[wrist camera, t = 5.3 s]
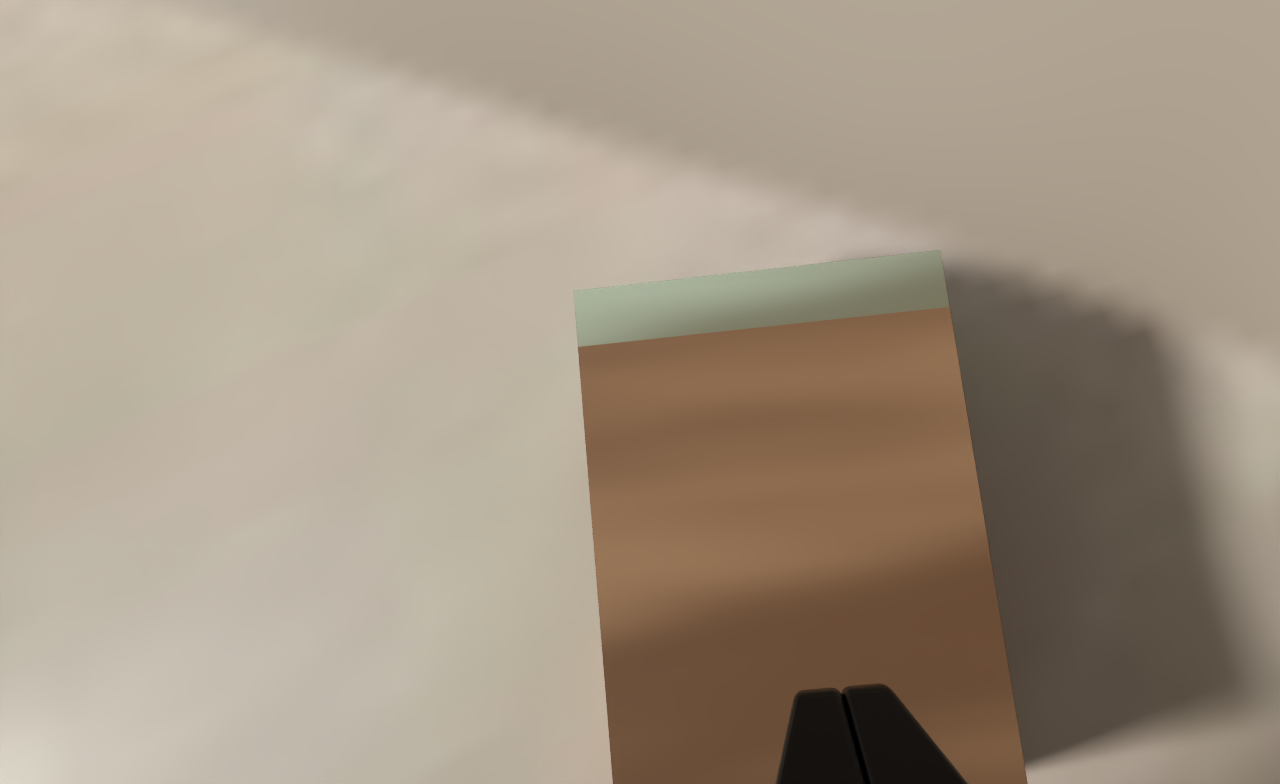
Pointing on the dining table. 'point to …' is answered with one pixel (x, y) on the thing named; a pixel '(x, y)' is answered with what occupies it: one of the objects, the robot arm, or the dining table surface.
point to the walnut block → (786, 516)
